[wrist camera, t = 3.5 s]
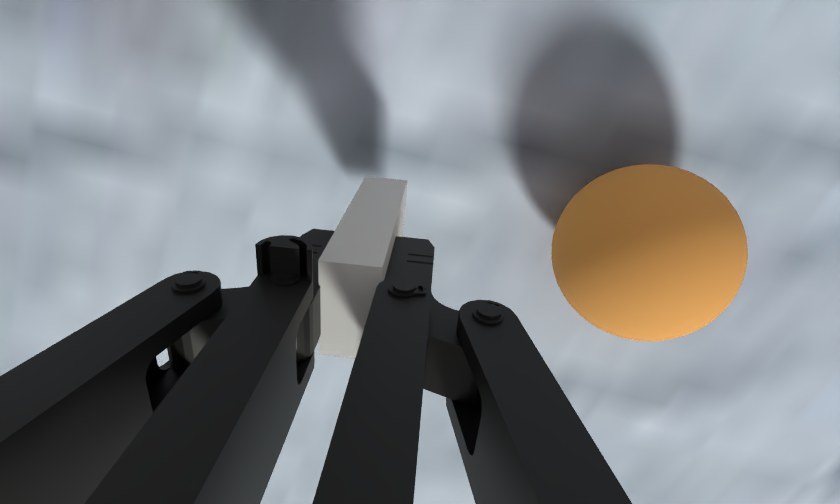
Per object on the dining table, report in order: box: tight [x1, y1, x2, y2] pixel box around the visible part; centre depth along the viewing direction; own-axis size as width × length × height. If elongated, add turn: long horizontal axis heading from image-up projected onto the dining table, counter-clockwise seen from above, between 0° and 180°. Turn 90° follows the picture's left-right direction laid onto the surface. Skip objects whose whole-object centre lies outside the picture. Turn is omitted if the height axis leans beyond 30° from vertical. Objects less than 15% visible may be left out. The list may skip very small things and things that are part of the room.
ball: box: [552, 164, 748, 341], centre depth 16 cm, size 6×6×6 cm
